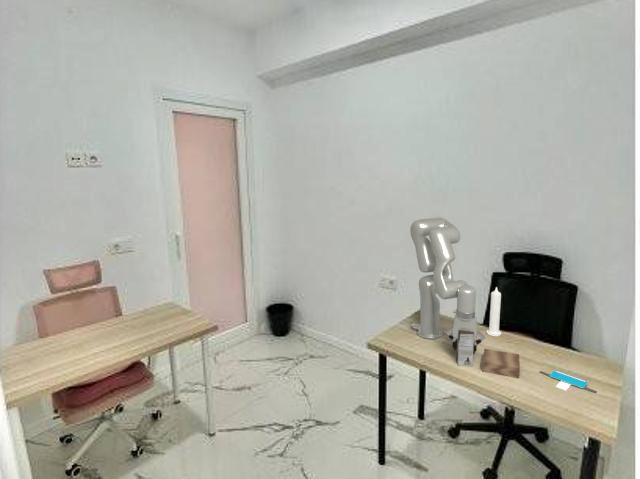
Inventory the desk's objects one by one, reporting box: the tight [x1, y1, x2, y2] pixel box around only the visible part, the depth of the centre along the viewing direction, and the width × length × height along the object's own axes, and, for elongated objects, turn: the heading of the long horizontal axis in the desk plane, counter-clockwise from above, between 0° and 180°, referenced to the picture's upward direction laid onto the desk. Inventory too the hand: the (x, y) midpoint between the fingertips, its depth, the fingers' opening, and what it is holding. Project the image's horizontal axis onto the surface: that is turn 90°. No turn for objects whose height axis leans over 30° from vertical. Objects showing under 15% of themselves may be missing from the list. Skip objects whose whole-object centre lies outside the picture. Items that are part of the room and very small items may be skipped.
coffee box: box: [455, 330, 474, 367], centre depth 171 cm, size 9×6×16 cm
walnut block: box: [481, 348, 521, 379], centre depth 166 cm, size 14×12×5 cm
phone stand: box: [539, 369, 597, 394], centre depth 154 cm, size 20×12×2 cm, turn 41°
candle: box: [485, 286, 502, 337], centre depth 194 cm, size 7×7×25 cm
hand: (464, 350), depth 172 cm, fingers closed on coffee box, 7 cm apart
